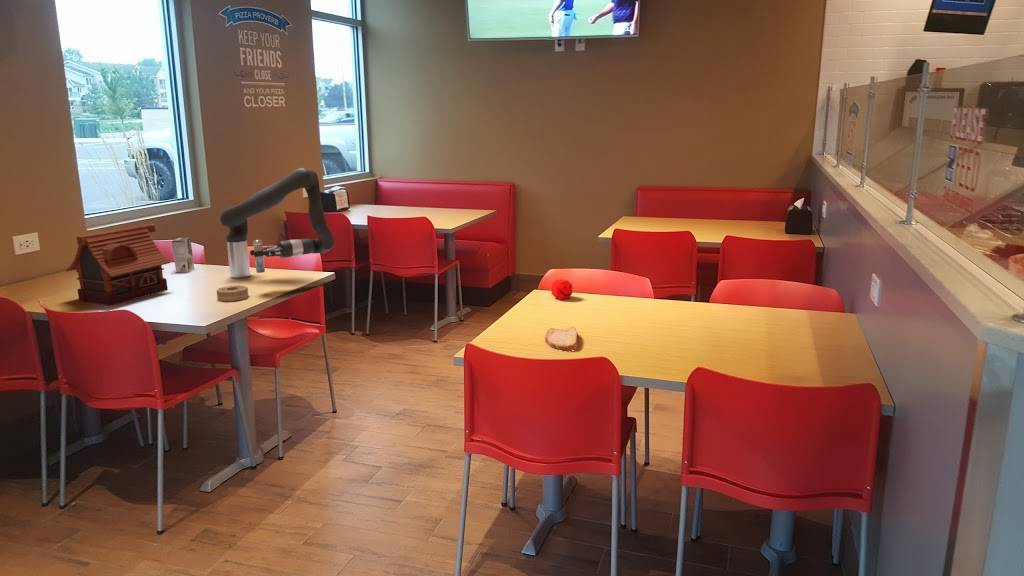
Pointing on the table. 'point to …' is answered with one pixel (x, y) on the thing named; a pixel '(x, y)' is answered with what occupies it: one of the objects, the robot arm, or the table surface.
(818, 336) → the table surface
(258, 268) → the grey tall cylinder
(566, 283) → the ball
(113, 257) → the house
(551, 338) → the bread slice
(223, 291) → the bead
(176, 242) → the coffee box
